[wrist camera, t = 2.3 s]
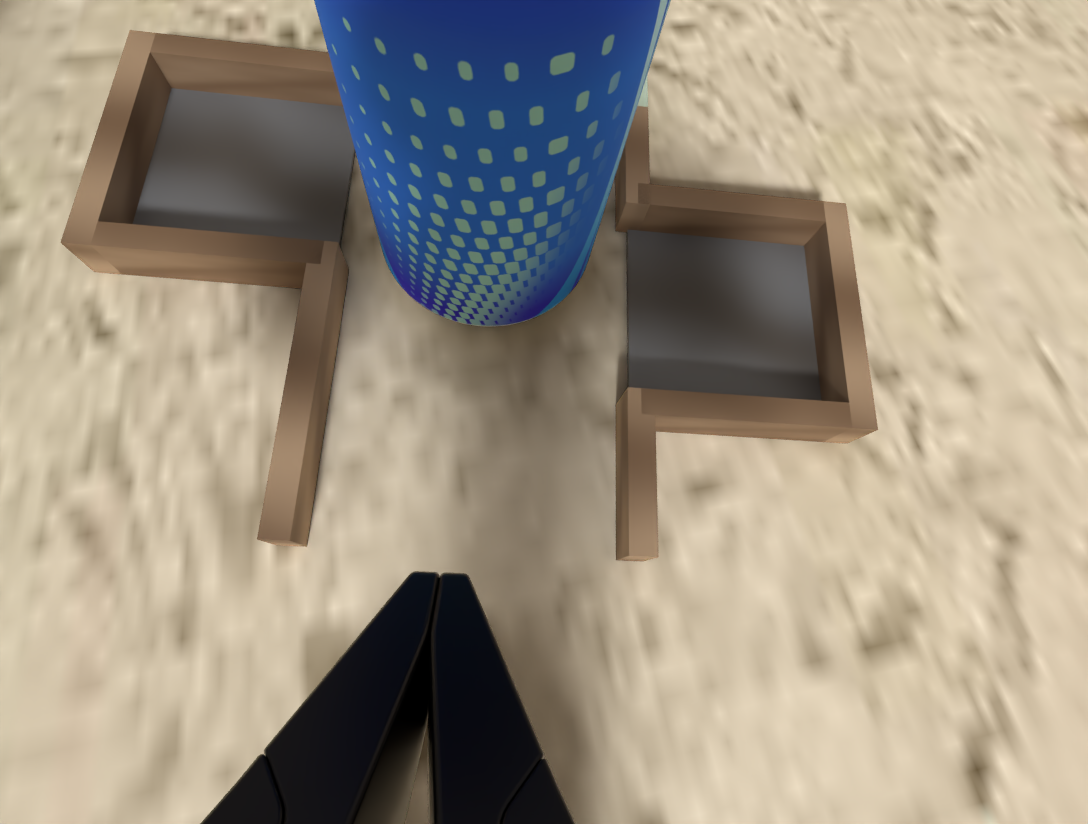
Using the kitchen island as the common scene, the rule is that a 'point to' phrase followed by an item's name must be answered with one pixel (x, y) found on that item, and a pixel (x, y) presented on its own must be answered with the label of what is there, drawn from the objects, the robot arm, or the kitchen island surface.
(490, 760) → the robot arm
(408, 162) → the beer can
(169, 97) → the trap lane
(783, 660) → the kitchen island surface
